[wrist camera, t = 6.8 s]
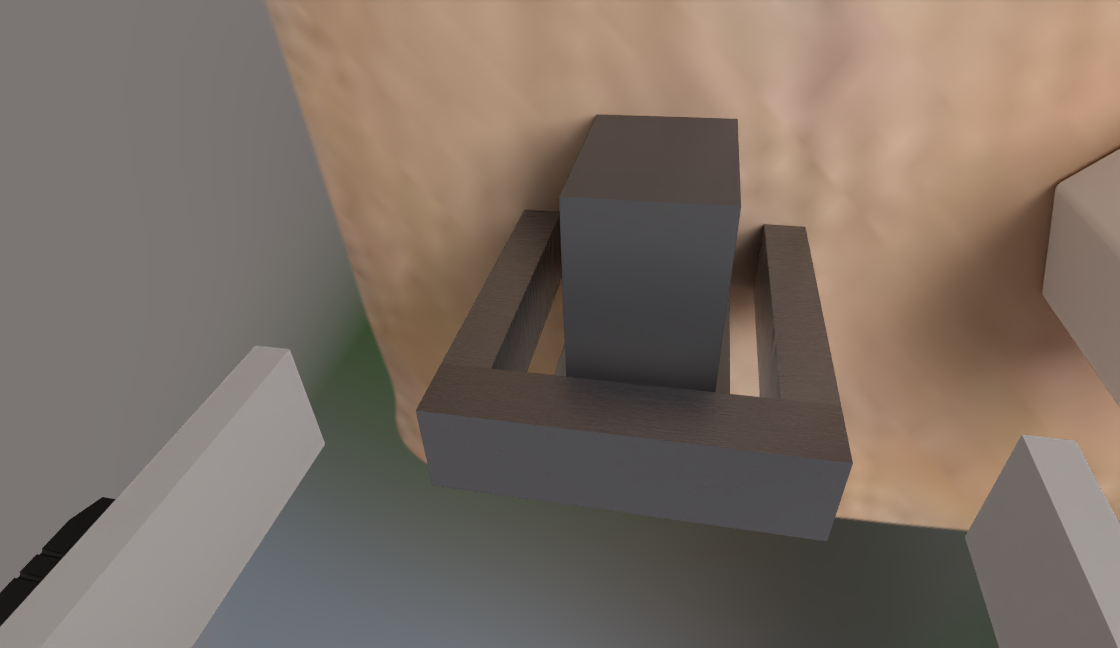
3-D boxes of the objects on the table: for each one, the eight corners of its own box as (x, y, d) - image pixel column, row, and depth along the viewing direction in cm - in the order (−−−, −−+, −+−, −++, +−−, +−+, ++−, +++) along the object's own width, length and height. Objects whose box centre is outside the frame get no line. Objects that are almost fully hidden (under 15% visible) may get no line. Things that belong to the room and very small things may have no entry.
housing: (524, 210, 27) (415, 410, 18) (805, 227, 25) (852, 463, 16) (529, 272, 29) (432, 485, 19) (791, 293, 27) (827, 541, 17)
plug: (583, 114, 24) (533, 211, 18) (751, 119, 23) (761, 224, 17) (587, 389, 32) (554, 523, 26) (713, 403, 31) (709, 546, 25)
